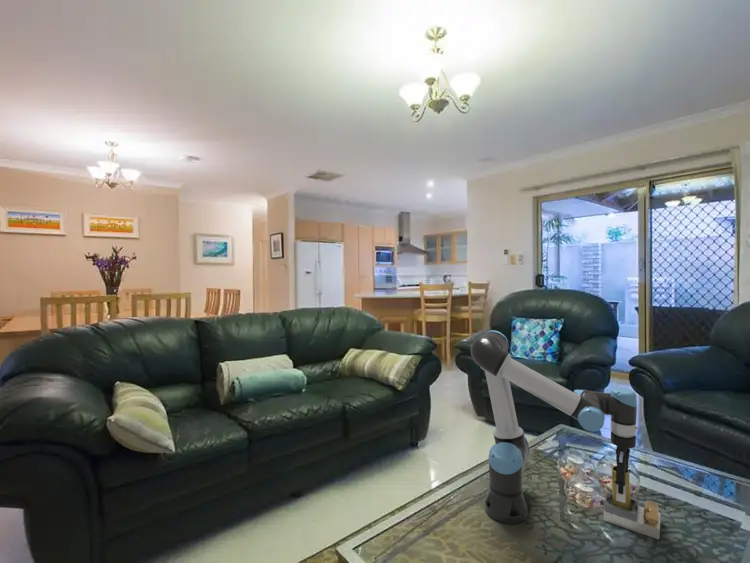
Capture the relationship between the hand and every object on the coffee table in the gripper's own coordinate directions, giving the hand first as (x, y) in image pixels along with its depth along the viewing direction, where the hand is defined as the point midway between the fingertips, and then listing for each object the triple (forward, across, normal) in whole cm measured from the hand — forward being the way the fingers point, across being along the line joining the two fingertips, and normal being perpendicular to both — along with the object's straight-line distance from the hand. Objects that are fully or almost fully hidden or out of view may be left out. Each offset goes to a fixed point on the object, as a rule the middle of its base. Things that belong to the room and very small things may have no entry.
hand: (622, 495), depth 139 cm
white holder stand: (+9, 0, -3) cm, 9 cm away
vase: (+5, 0, 0) cm, 5 cm away
